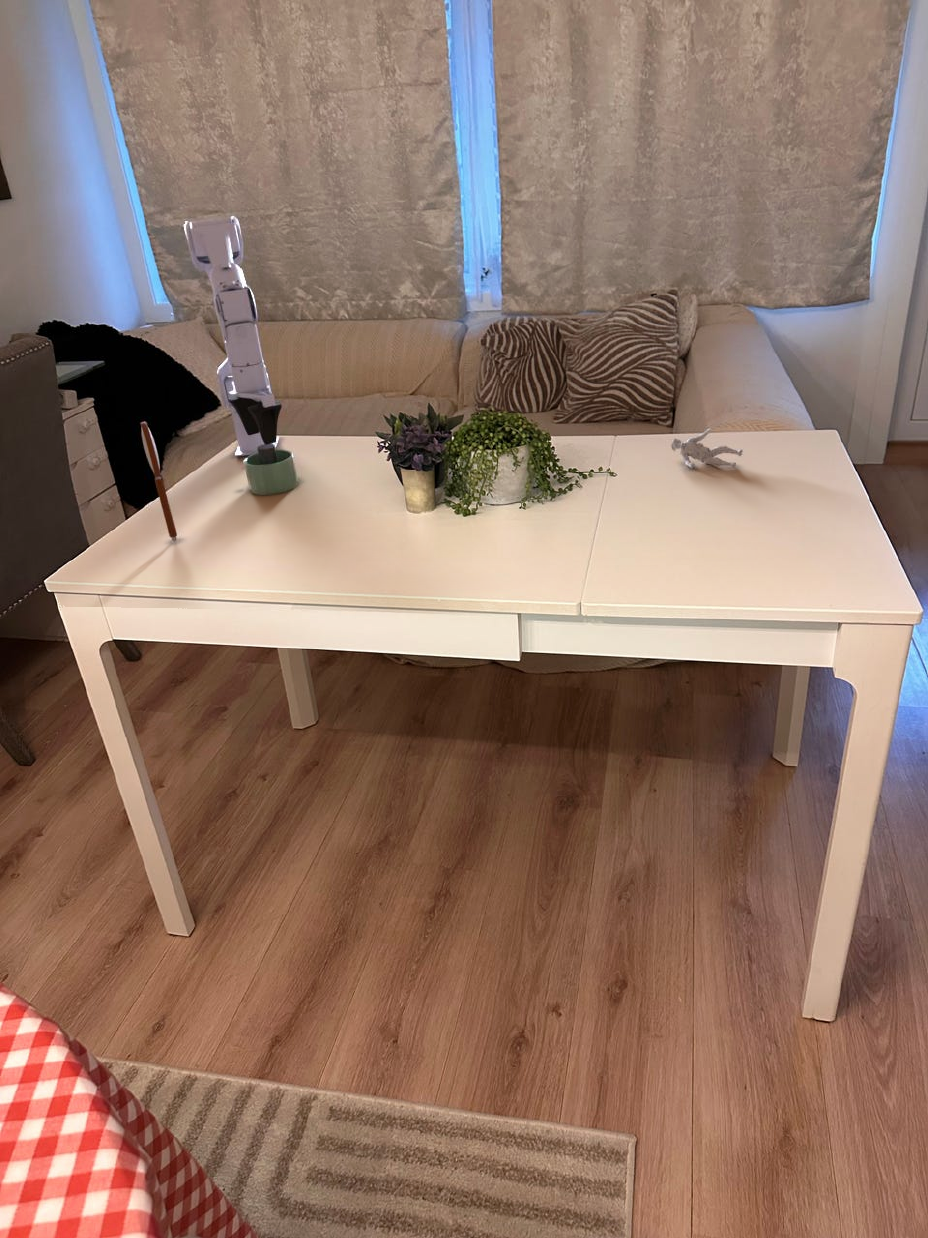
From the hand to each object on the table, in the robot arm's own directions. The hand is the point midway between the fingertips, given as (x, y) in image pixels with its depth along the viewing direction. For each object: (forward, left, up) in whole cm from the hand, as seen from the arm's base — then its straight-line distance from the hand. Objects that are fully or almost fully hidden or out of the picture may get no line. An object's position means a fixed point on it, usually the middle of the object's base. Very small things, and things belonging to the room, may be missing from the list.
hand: (261, 438), depth 165 cm
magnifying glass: (+22, -13, -9) cm, 27 cm away
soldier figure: (+13, +78, -9) cm, 79 cm away
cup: (+1, +1, -9) cm, 9 cm away
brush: (+1, +1, -9) cm, 9 cm away
